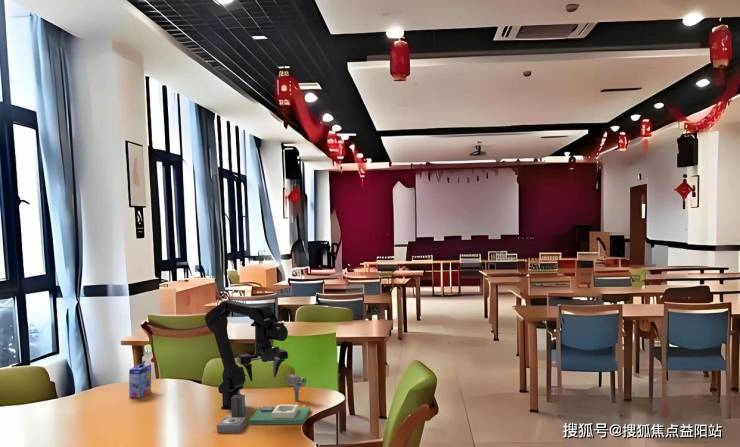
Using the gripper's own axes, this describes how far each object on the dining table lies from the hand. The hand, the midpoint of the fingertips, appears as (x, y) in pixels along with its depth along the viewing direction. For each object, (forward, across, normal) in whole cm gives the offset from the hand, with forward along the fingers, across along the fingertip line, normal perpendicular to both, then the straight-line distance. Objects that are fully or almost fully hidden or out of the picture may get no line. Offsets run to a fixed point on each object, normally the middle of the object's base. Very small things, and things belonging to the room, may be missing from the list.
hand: (263, 379), depth 213 cm
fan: (+13, -15, -10) cm, 22 cm away
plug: (+13, -10, 0) cm, 16 cm away
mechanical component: (+13, +16, +7) cm, 22 cm away
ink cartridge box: (+15, -38, +54) cm, 67 cm away
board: (+13, +4, -9) cm, 16 cm away
